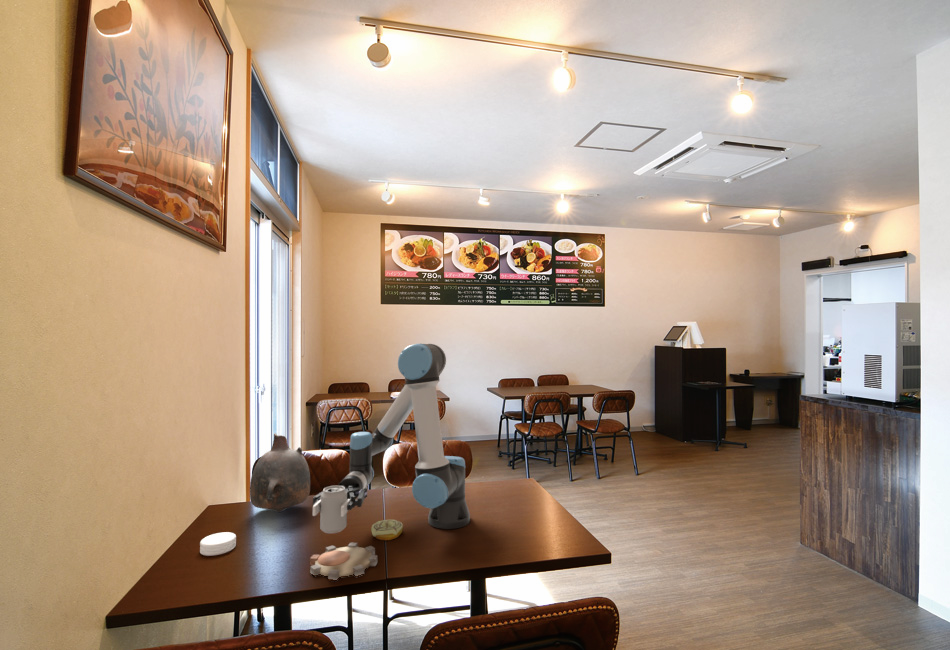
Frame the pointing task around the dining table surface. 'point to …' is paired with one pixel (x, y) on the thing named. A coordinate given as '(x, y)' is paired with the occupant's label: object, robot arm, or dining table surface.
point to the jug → (280, 477)
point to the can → (333, 509)
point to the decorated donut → (387, 529)
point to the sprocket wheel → (343, 561)
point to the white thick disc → (217, 543)
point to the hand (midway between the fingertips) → (328, 511)
